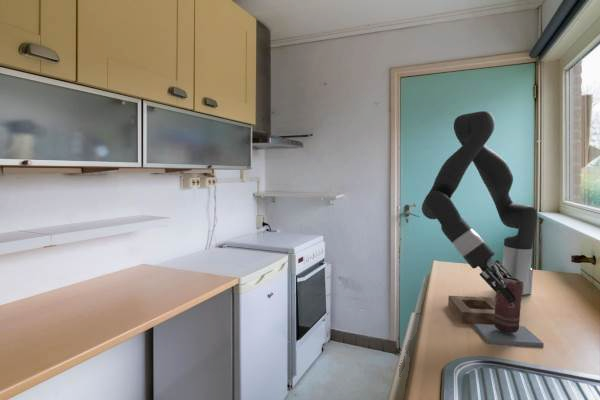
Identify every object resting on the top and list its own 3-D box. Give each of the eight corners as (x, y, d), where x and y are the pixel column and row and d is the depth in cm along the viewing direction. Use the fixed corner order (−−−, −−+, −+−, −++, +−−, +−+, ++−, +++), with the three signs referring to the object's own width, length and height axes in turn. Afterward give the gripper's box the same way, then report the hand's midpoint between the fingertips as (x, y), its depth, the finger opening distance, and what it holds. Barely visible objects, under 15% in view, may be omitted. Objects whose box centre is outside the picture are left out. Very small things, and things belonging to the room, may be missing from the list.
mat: (524, 329, 105) (524, 326, 105) (543, 346, 95) (543, 343, 95) (474, 326, 107) (474, 323, 107) (487, 343, 97) (488, 339, 97)
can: (523, 334, 97) (527, 284, 96) (497, 331, 99) (501, 282, 97) (514, 324, 103) (518, 277, 102) (490, 322, 105) (494, 275, 103)
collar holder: (489, 307, 121) (490, 297, 121) (508, 325, 108) (509, 314, 107) (448, 305, 123) (448, 295, 122) (461, 323, 109) (462, 311, 109)
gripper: (476, 245, 98) (524, 298, 91) (489, 237, 109) (532, 284, 102) (455, 260, 102) (499, 312, 95) (469, 251, 113) (509, 297, 106)
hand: (516, 297), depth 99 cm, fingers closed on can, 6 cm apart
